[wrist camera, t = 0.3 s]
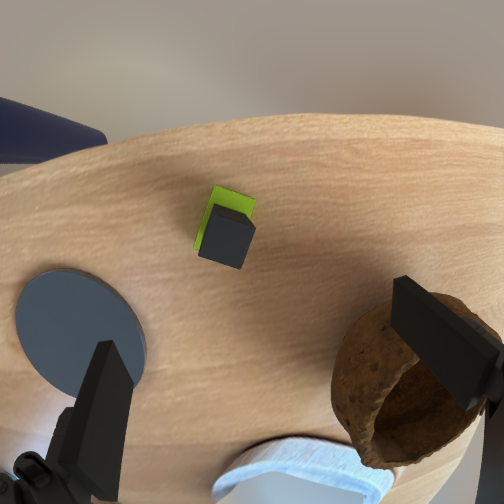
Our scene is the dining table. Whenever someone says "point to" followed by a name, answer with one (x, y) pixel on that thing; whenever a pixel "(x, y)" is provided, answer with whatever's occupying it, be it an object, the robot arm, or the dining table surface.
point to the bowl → (395, 393)
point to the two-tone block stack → (226, 228)
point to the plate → (75, 326)
